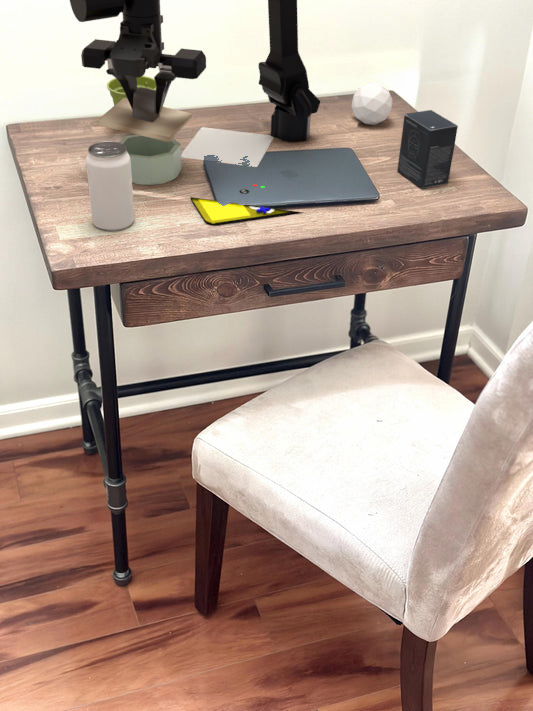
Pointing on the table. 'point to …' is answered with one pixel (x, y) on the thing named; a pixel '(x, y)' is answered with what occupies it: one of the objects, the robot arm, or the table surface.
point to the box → (427, 148)
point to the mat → (228, 146)
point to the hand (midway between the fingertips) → (146, 111)
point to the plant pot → (119, 93)
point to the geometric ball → (372, 103)
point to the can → (110, 186)
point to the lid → (145, 117)
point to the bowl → (153, 159)
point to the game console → (234, 211)
